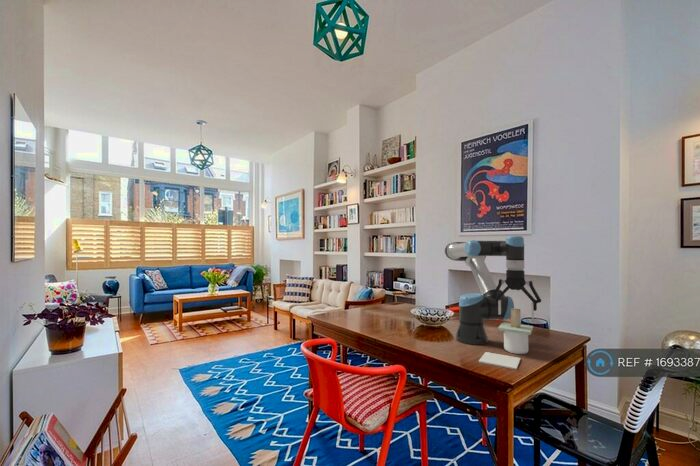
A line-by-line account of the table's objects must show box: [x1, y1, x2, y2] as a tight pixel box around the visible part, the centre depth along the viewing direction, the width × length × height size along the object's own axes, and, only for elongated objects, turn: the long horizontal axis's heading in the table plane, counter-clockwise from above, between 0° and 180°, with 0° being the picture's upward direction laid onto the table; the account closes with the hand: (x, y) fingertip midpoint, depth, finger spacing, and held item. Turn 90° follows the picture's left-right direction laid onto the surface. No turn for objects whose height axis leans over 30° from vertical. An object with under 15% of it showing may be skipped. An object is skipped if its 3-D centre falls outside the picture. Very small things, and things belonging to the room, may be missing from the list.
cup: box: [503, 331, 529, 355], centre depth 149 cm, size 10×10×10 cm
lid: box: [497, 307, 534, 336], centre depth 149 cm, size 13×13×9 cm
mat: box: [478, 351, 522, 371], centre depth 136 cm, size 14×14×1 cm
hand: (515, 316), depth 149 cm, fingers open, 13 cm apart
